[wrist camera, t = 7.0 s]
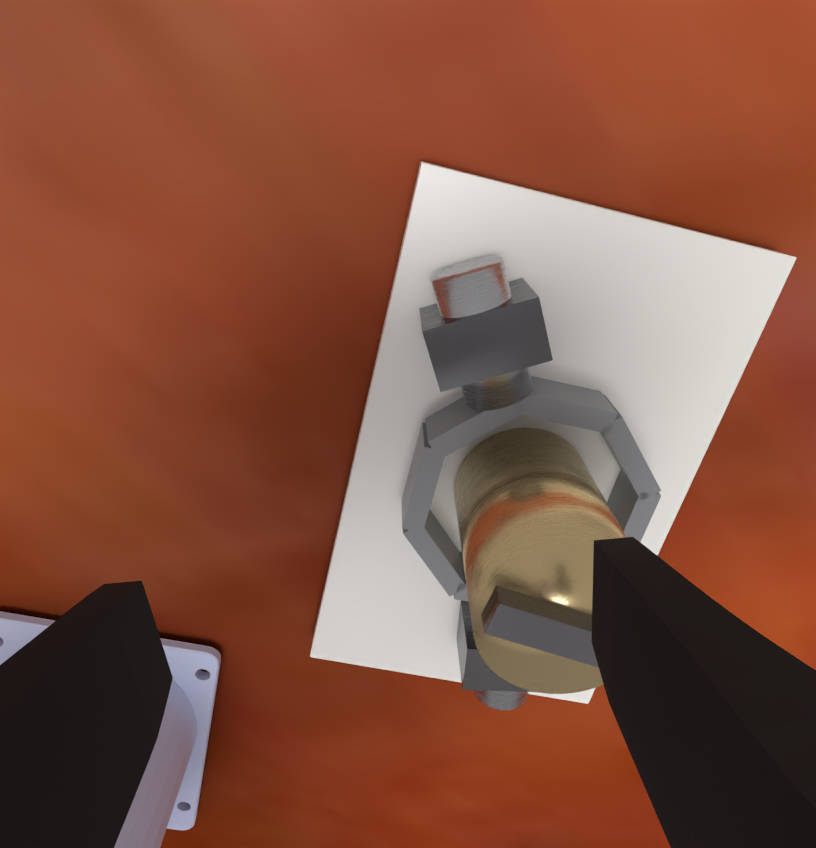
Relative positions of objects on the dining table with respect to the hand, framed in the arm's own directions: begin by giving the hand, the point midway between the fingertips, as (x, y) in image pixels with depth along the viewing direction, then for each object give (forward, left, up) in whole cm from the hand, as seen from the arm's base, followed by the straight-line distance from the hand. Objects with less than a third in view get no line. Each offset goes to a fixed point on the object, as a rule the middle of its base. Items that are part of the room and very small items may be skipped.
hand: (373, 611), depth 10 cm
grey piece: (+3, -2, -10) cm, 10 cm away
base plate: (-2, -5, -10) cm, 11 cm away
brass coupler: (-2, -5, -9) cm, 10 cm away
